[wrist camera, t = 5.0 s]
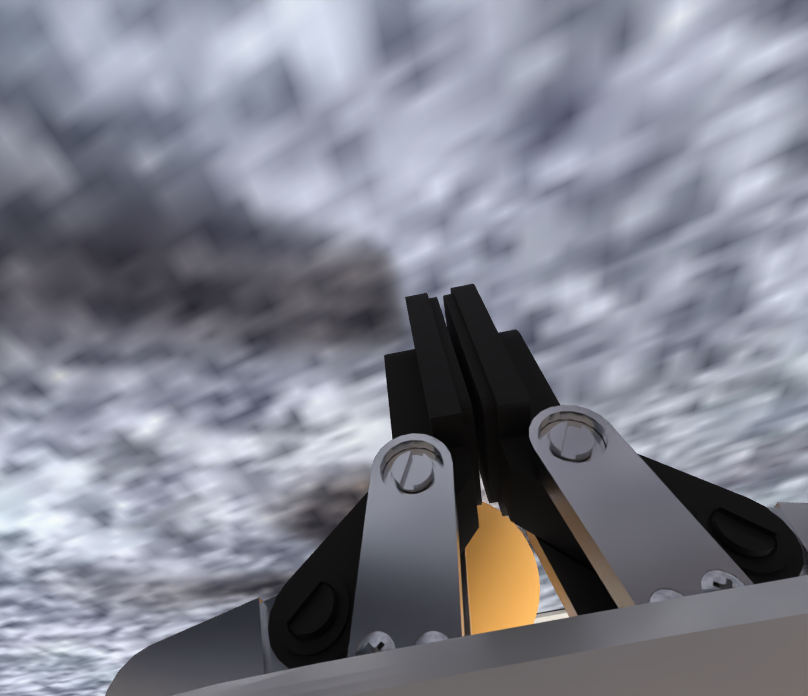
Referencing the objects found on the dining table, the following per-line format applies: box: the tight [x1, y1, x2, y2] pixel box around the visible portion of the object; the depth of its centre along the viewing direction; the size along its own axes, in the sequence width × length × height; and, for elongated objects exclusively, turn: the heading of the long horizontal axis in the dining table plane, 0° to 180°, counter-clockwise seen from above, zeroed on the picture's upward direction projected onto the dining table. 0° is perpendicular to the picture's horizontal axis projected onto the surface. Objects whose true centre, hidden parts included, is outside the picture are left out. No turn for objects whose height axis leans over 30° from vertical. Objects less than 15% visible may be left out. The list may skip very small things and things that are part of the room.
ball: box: [466, 502, 540, 635], centre depth 16 cm, size 6×6×6 cm
